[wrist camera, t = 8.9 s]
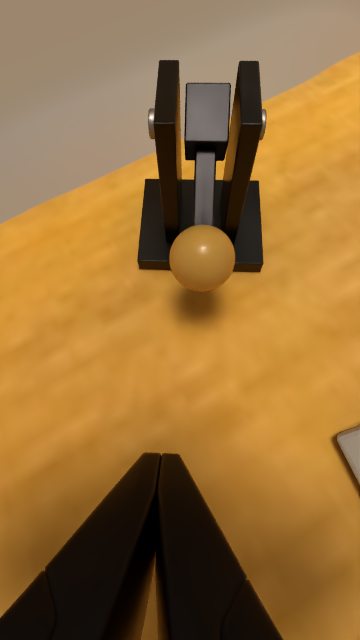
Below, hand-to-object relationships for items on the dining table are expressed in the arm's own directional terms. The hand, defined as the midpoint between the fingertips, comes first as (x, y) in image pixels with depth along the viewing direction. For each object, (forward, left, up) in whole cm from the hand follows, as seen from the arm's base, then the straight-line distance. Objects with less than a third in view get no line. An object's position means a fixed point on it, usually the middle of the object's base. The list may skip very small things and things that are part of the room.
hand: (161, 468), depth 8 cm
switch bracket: (+16, -1, -13) cm, 21 cm away
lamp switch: (+14, -1, -7) cm, 16 cm away
